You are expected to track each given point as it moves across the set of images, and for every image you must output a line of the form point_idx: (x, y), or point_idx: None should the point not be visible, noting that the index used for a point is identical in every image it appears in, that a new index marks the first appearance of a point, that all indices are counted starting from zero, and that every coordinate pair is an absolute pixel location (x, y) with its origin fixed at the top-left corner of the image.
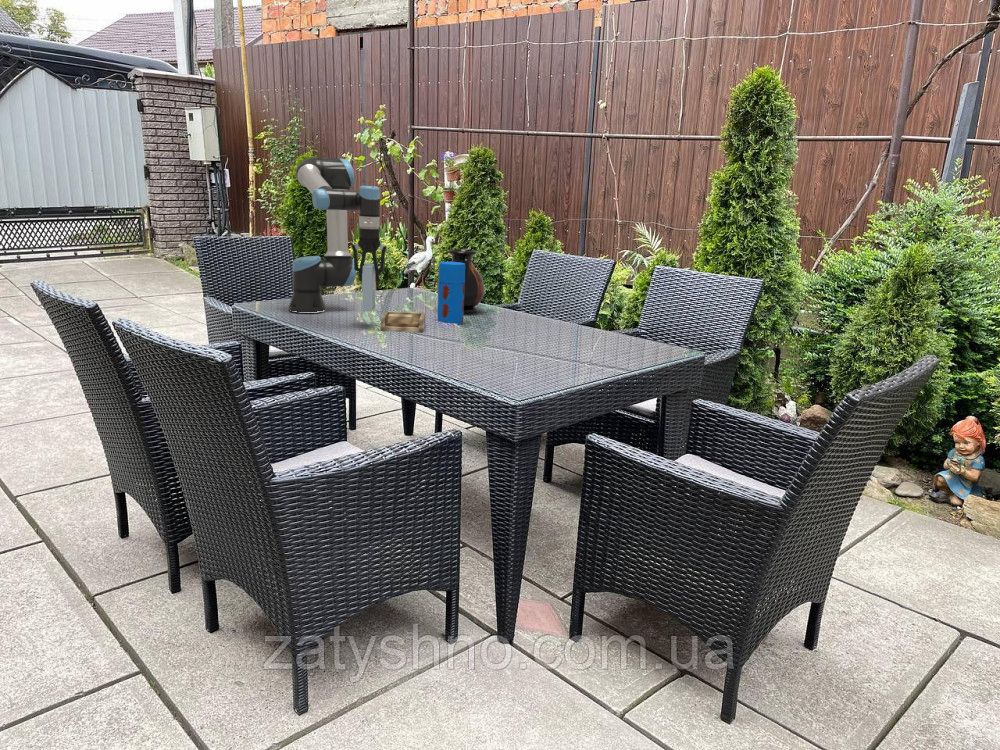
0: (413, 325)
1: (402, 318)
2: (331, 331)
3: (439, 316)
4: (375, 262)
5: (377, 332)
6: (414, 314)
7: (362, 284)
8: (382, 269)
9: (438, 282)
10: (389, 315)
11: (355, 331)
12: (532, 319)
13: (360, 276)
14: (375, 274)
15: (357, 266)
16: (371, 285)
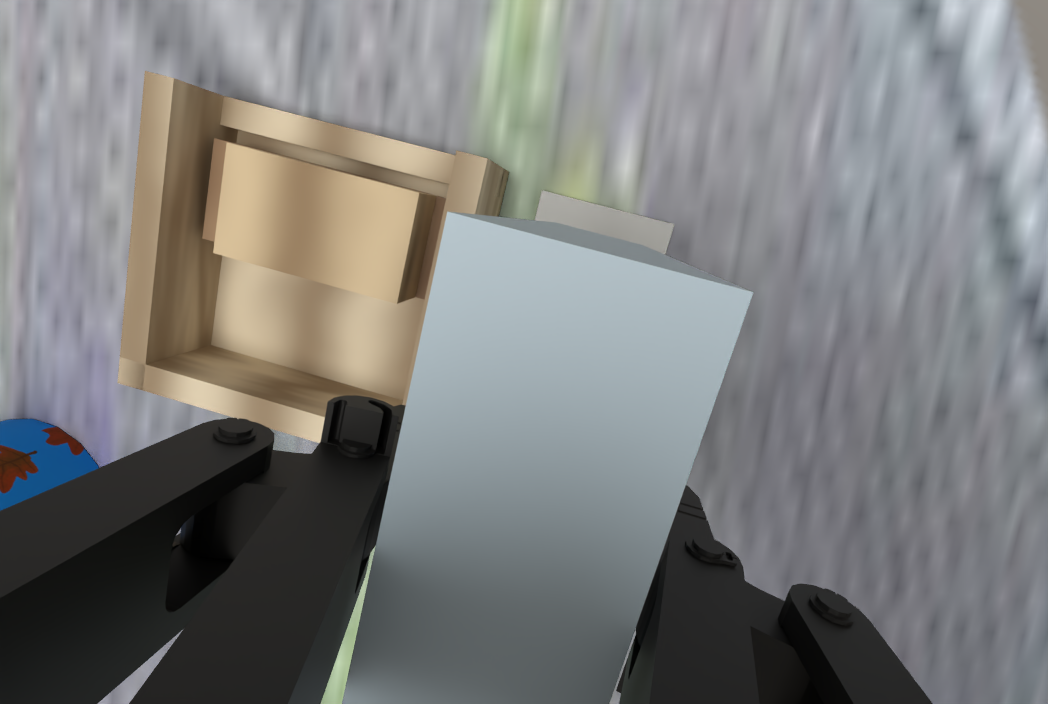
0: (254, 148)
1: (308, 163)
2: (862, 256)
3: None
4: (268, 578)
5: (528, 204)
6: (204, 376)
7: None
8: (200, 433)
9: None
10: (404, 218)
11: (681, 248)
12: None
13: (686, 516)
14: None
15: (814, 663)
16: (532, 221)
